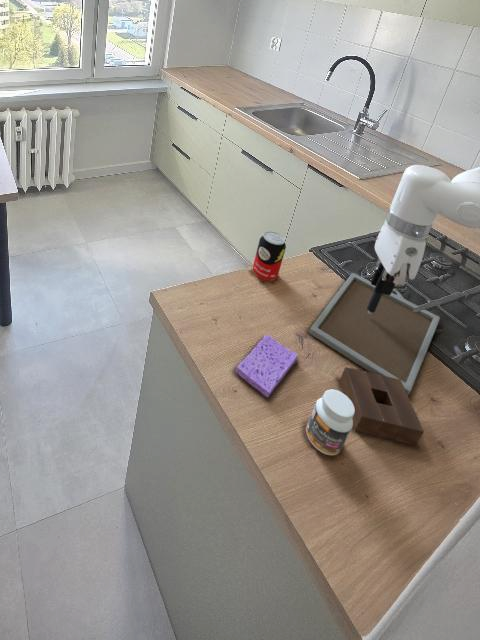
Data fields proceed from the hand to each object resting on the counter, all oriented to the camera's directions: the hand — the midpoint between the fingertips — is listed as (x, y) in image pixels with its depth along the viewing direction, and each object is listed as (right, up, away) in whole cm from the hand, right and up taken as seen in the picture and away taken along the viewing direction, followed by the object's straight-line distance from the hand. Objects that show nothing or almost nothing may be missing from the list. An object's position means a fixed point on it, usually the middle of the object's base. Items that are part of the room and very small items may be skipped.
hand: (380, 288), depth 94 cm
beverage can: (-20, -3, +16) cm, 26 cm away
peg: (0, -7, +3) cm, 8 cm away
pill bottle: (-24, -19, -21) cm, 37 cm away
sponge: (-29, -13, -9) cm, 33 cm away
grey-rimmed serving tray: (+1, -10, +3) cm, 10 cm away
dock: (-12, -17, -16) cm, 26 cm away
